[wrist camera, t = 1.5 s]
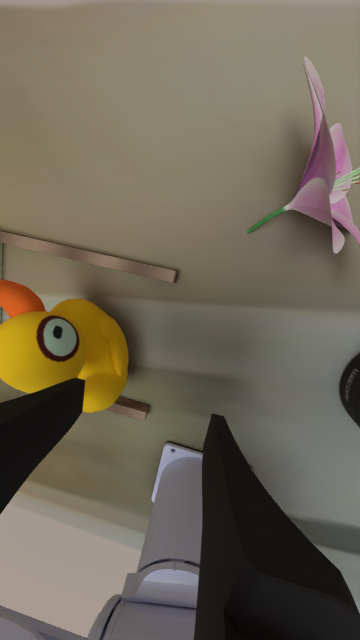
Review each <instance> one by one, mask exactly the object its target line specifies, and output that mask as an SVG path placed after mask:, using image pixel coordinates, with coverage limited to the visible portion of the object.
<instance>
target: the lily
mask: <svg viewBox="0 0 360 640" xmlns="http://www.w3.org/2000/svg"><path fill="white" fill-rule="evenodd" d="M304 60H305V63H306V67H307V70H308V72H307V70H306V68H305V66H304V69H305V73H306V77H307V81H308V85H309V89H310V94H311V99H312V104H313V112H314V137H313V143H312V148H311V152H310V156H309V159H308V162H307V165H306V168H305V171H304V174H303V176H302V179H301V182H300V184H299V187H298V189H297V191H296V194H295V196H294V198H293V200H292V201H291V202H290V203H289V204H288V205H286V206H284V207H282V208H280V209H279V210H277V211H275V212H274V213H272V214H270V215H269V216H267V217H266V218H264V219H263V220H261V221H260V222H258V223H257V224H256V225H254V226H253V227H251V228H250V229H249V230H247V233H251V232H252V231H253V230H255V229H256V228H258V227H259V226H261V225H262V224H264V223H265V222H267V221H268V220H270V219H272V218H273V217H275V216H277V215H278V214H281V213H283V212H285V211H287V210H296V211H299V212H301V213H303V214H305V215H308V216H310V217H312V218H314V219H316V220H318V221H321V222H323V223H325V224H327V225H329V226H331V227H332V241H333V252H334V253H336V254H337V253H338V252H340V250H341V249H342V247H343V245H344V242H345V237H344V236H343V234H342V233H341V232H340V231H339V229H338V228H337V227H336V226H339V227H343V228H346V229H347V230H348V231H349V232H350V233H351V234H352V236H353V237H354V239H355V240H356V241H357V243H358V244H359V246H360V232H359V230H358V228H357V227H356V226H355V225H354V224H353V220H352V215H351V210H350V207H349V203H348V200H347V197H346V195H345V194H346V193H347V192H348V190H349V189H350V185H351V183H355V182H356V183H355V184H359V183H360V182H359V181H354V182H351V181H352V180H353V179H355V178H358V177H359V178H360V176H358V177H355V178H352V176H354V175H356V174H358V173H360V170H359V169H360V167H359V168H357V169H356V170H354V171H352V165H351V160H350V155H349V152H348V148H347V145H346V142H345V139H344V136H343V130H342V125H341V124H340V123H337V124H335V125H334V126H332V127H331V129H330V130H329V127H328V124H327V120H326V117H325V99H324V91H323V85H322V83H321V80H320V78H319V75H318V73H317V71H316V70H315V68H314V66H313V65H312V63H311V62H310V60H309V59H308V58H307V57H306V56H305V57H304ZM303 65H304V64H303ZM308 73H309V74H308ZM319 104H320V105H319ZM320 107H321V108H320ZM322 114H323V115H322ZM357 170H359V171H357ZM355 171H357V172H355ZM353 172H355V173H353ZM352 173H353V174H352ZM335 225H336V226H335Z"/></svg>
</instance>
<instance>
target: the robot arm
mask: <svg viewBox="0 0 360 640" xmlns="http://www.w3.org/2000/svg"><path fill="white" fill-rule="evenodd" d="M84 391H85V380H83V379H79V378H76V377H75V378H72V379H69V380H66V381H63V382H61V383H58V384H55V385H53V386H50V387H47V388H45V389H42V390H39V391H37V392H34V393H31V394H28V395H25V396H22V397H19V398H16V399H13V400H10V401H6V402H3V403H0V514H1V512H2V511H3V510H4V508H5V507H6V506H7V504H8V503H9V502H10V500H11V499H12V497H13V496H14V495H15V493H16V492H17V491H18V489H19V488H20V487H21V485H22V484H23V483H24V482H25V480H26V479H27V478H28V476H29V475H30V474H31V472H32V471H33V470H34V469H35V468H36V467H37V465H38V464H39V463H40V462H41V461H42V460H43V459H44V458H45V456H46V455H47V454H48V453H49V452H50V451H51V450H52V449H53V447H54V446H55V445H56V444H57V443H58V442H59V441H60V440H61V439H62V437H63V436H64V435H65V434H66V433H67V432H68V431H69V429H70V428H71V427H72V426H73V424H74V423H75V421H76V420H77V419H78V417H79V416H80V414H81V413H82V411H83V401H84ZM172 449H175V450H172ZM152 501H153V502H154V505H153V509H152V513H151V517H150V521H149V525H148V529H147V533H146V537H145V541H144V545H143V549H142V553H141V557H140V561H139V565H138V568H137V572H136V573H128V575H127V578H126V581H125V585H124V588H123V592H122V595H119V594H116V595H114V596H112V597H111V598H110V599H109V600H108V601H107V603H106V604H105V606H104V607H103V609H102V611H101V612H100V613H99V615H98V616H97V618H96V620H95V622H94V624H93V626H92V628H91V630H90V632H89V634H88V637H87V638H85V637H82V636H80V635H77V634H74V633H72V632H69V631H66V630H63V629H61V628H58V627H56V626H53V625H51V624H48V623H45V622H43V621H40V620H37V619H35V618H32V617H29V616H27V615H24V614H21V613H19V612H16V611H13V610H11V609H8V608H5V607H3V606H0V640H360V614H359V611H358V609H357V606H356V604H355V602H354V599H353V597H352V595H351V592H350V590H349V588H348V586H347V584H346V582H345V580H344V578H343V576H342V574H341V572H340V570H339V569H338V568H337V567H336V566H335V565H333V564H332V563H331V562H330V561H329V560H328V559H327V558H326V557H325V556H324V555H323V554H322V553H321V552H320V551H319V550H318V549H317V548H316V547H315V546H314V545H313V544H312V543H311V542H310V541H309V540H308V539H307V538H306V537H305V535H304V534H303V533H302V532H301V531H300V530H299V529H298V528H297V527H296V526H295V525H294V524H293V522H292V521H291V520H290V519H289V518H288V517H287V516H286V514H285V513H284V512H283V511H282V510H281V508H280V507H279V506H278V505H277V503H276V502H275V501H274V500H273V499H272V497H271V496H270V495H269V493H268V492H267V491H266V489H265V488H264V487H263V485H262V484H261V482H260V481H259V480H258V478H257V477H256V475H255V474H254V471H253V469H252V468H250V466H249V464H248V463H247V461H246V459H245V458H244V456H243V454H242V452H241V450H240V449H239V447H238V445H237V443H236V441H235V439H234V437H233V435H232V433H231V431H230V429H229V427H228V424H227V422H226V420H225V418H224V416H220V415H216V414H212V416H211V420H210V423H209V427H208V431H207V434H206V438H205V442H204V446H203V453H201V452H198V451H194V450H191V449H188V448H185V447H181V446H178V445H175V444H171V443H166V444H165V445H164V449H163V453H162V457H161V461H160V465H159V470H158V474H157V478H156V482H155V486H154V490H153V494H152Z"/></svg>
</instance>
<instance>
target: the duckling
mask: <svg viewBox="0 0 360 640" xmlns="http://www.w3.org/2000/svg"><path fill="white" fill-rule="evenodd" d="M0 306H1V307H2V308H3V309H4V310H5V312H6V313H7V314H8V315H9V316H10V317H11V318H10V319H8V320H6V321H5V322H3V323H2V324H1V325H0V378H1V379H2V380H3V381H4V382H5V383H7V384H8V385H10V386H12V387H14V388H16V389H18V390H21V391H24V392H27V393H30V394H31V393H34V392H37V391H39V390H42V389H45V388H47V387H50V386H53V385H55V384H58V383H61V382H63V381H66V380H69V379H72V378H75V377H76V378H79V379H83V380H85V391H84V401H83V411H84V412H88V413H91V412H97V411H102V410H104V409H106V408H109V407H110V406H111V405H112V404H114V402H115V401H116V400H117V399H118V397H119V396H120V394H121V392H122V391H123V389H124V387H125V385H126V382H127V378H128V368H127V366H128V359H129V357H128V348H127V343H126V339H125V336H124V334H123V332H122V330H121V328H120V327H119V325H118V323H117V322H116V321H115V320H114V319H113V318H111V317H109V316H108V315H107V314H106V313H105V312H104V311H103V310H101V309H100V308H99V307H98V306H96V305H95V304H93V303H92V302H90V301H87V300H84V299H69V300H65V301H63V302H61V303H59V304H58V305H56V306H55V307H54V308H53V309H52V310H51V311H50V312H46V311H45V308H44V305H43V303H42V301H41V299H40V298H39V297H38V296H37V295H36V294H35V293H34V292H32V291H31V290H30V289H29V288H27V287H26V286H24V285H21V284H18V283H15V282H12V281H7V280H2V279H0Z"/></svg>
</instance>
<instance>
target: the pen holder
mask: <svg viewBox="0 0 360 640" xmlns="http://www.w3.org/2000/svg"><path fill="white" fill-rule="evenodd" d="M341 398H342V402H343V405H344V407H345V409H346V411H347V412H348V414H349V415H350V417H351V418H352V419H353V420H354V421H355V423H356V424H357V425H358V426H359V427H360V356H359V357H357V358H356V359H355V360H354V361H353V362H352V363H351V365H350V366H349V367H348V369H347V371H346V373H345V375H344V377H343V380H342V384H341Z"/></svg>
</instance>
